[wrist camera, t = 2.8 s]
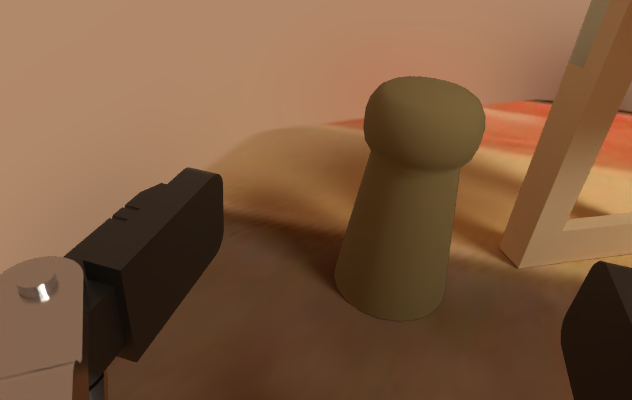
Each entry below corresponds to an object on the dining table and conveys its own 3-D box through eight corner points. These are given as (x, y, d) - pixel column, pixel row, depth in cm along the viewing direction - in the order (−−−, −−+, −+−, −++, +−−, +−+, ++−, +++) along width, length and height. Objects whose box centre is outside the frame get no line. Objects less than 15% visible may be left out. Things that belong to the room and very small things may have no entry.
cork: (361, 332, 22) (402, 118, 16) (318, 253, 27) (337, 64, 21) (466, 307, 24) (538, 108, 18) (409, 238, 29) (451, 61, 23)
